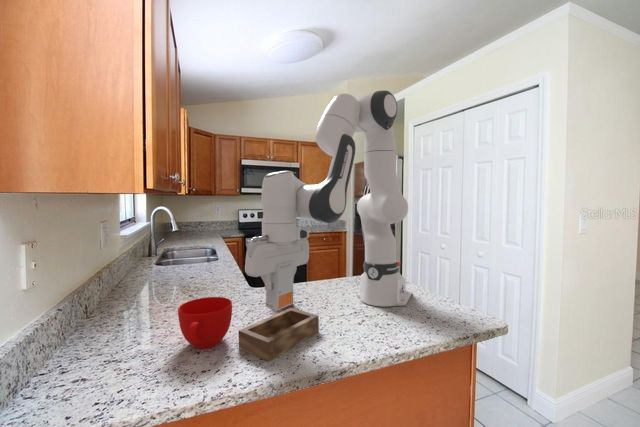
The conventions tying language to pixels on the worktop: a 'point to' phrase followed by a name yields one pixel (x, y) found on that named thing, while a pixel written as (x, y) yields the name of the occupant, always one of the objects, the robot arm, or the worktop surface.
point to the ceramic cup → (205, 321)
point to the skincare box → (281, 287)
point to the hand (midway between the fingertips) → (279, 286)
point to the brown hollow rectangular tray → (278, 333)
